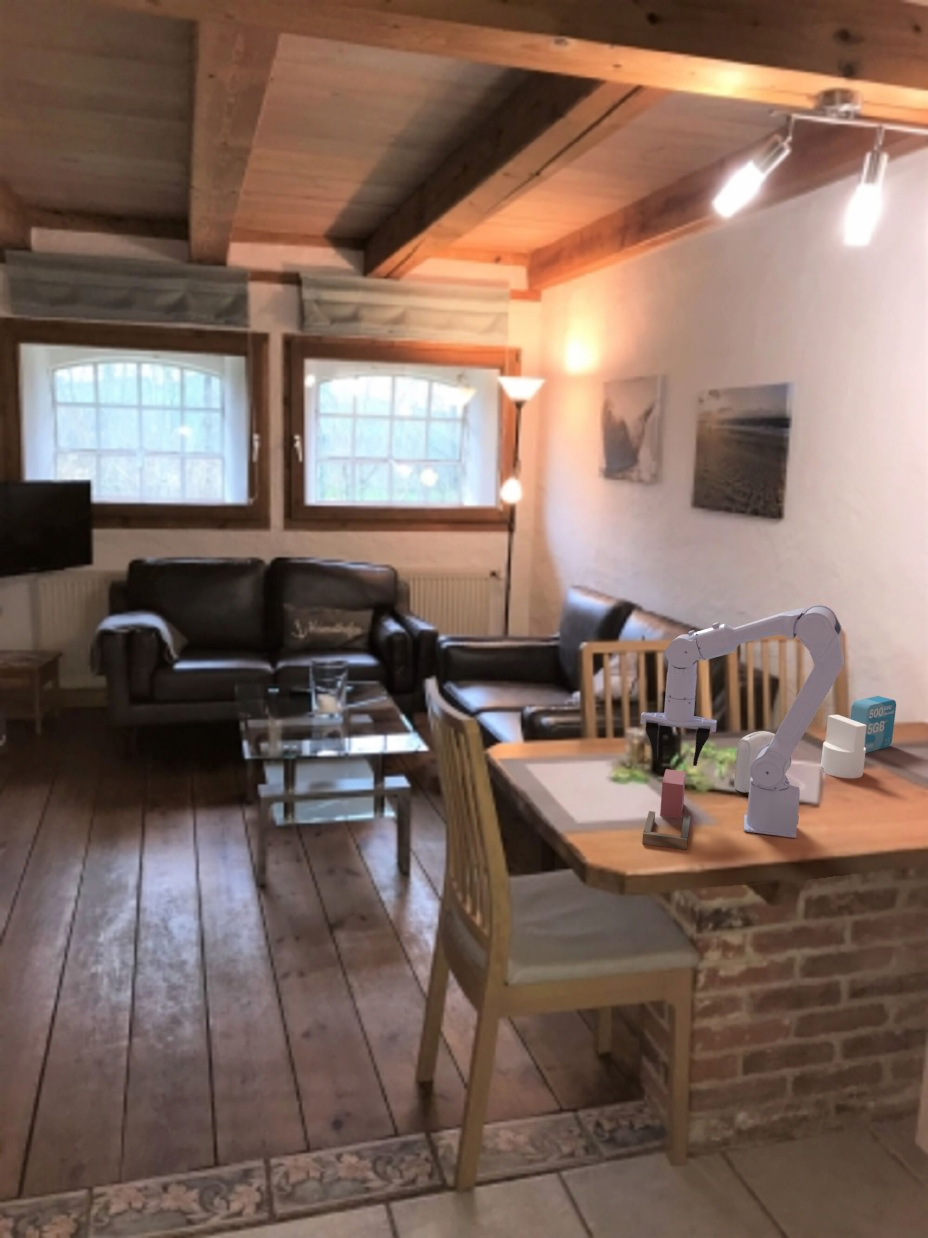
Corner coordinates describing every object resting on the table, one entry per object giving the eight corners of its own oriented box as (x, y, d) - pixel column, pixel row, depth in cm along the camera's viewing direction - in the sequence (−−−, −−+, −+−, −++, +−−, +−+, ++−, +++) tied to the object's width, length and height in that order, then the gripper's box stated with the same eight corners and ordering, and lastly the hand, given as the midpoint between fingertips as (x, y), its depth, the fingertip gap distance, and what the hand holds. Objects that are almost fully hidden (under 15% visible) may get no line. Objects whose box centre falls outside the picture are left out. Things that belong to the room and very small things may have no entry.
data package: (862, 754, 240) (868, 705, 238) (846, 749, 244) (851, 701, 241) (891, 746, 247) (897, 699, 244) (875, 741, 250) (880, 694, 248)
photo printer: (762, 780, 220) (767, 726, 218) (778, 786, 216) (783, 731, 214) (730, 788, 214) (735, 733, 212) (745, 795, 211) (750, 738, 208)
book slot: (689, 826, 193) (690, 816, 193) (685, 849, 183) (686, 839, 182) (648, 820, 196) (649, 811, 195) (642, 843, 185) (642, 833, 184)
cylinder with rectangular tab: (812, 767, 229) (817, 716, 227) (841, 762, 233) (846, 713, 231) (841, 780, 222) (847, 728, 219) (871, 775, 225) (877, 724, 223)
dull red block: (683, 804, 205) (685, 771, 204) (680, 818, 197) (683, 784, 196) (663, 801, 206) (665, 769, 205) (660, 816, 198) (662, 782, 197)
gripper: (719, 694, 199) (713, 760, 202) (645, 687, 203) (640, 751, 205) (717, 703, 192) (712, 771, 195) (641, 696, 196) (636, 762, 199)
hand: (675, 762), depth 200 cm, fingers open, 7 cm apart
